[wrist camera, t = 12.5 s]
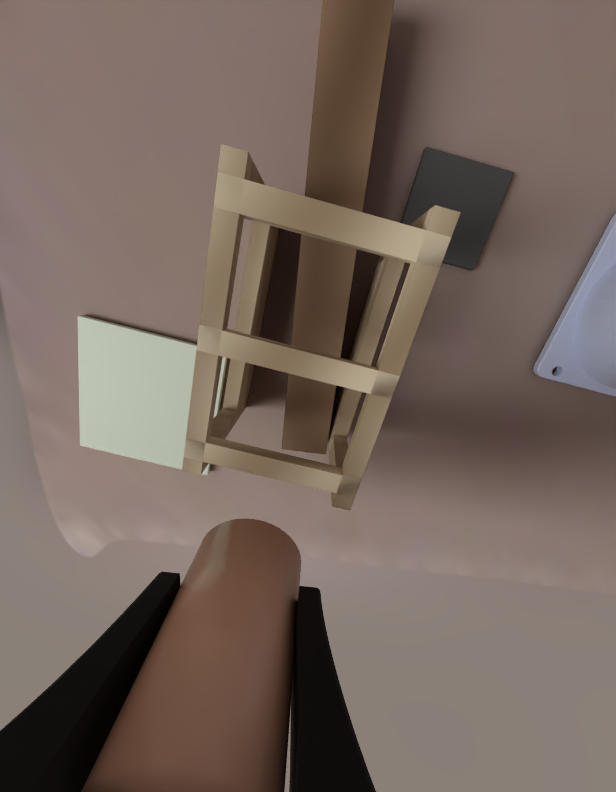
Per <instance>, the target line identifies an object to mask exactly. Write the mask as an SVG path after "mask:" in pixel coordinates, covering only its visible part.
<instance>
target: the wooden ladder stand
mask: <svg viewBox="0 0 616 792" xmlns="http://www.w3.org/2000/svg"><path fill="white" fill-rule="evenodd" d="M460 213H461V212H458V211H454V210H451V209H447V208H444V207H440V206H437V205H435V206H434V207H432V208H431V209H430V210H428V211H427V212H426V213H425V214H423V215H422V216H421V217H419V218H418V219H417V220H416V221H414V222H413V223H412V224H411V225H406V224H402V223H398V222H395V221H391V220H388V219H384V218H381V217H377V216H374V215H370V214H366V213H363V212H359V211H356V210H352V209H349V208H345V207H341V206H338V205H334V204H331V203H327V202H324V201H320V200H316V199H313V198H309V197H306V196H302V195H299V194H295V193H291V192H288V191H284V190H281V189H277V188H274V187H270V186H266V185H265V184H264V182H263V180H262V178H261V176H260V174H259V172H258V170H257V168H256V166H255V164H254V162H253V160H252V158H251V156H250V154H249V152H247V151H243V150H240V149H236V148H233V147H229V146H226V145H222V144H221V150H220V159H219V167H218V175H217V183H216V192H215V200H214V208H213V217H212V225H211V233H210V242H209V250H208V258H207V266H206V275H205V283H204V291H203V300H202V308H201V316H200V325H199V333H198V341H197V349H196V358H195V366H194V374H193V383H192V391H191V399H190V408H189V416H188V424H187V432H186V441H185V449H184V457H183V466H182V471H184V472H188V473H192V474H197V475H201V474H202V473H203V471H204V470H205V468H206V467H207V465H208V464H209V463H210V464H214V465H218V466H223V467H227V468H231V469H235V470H240V471H244V472H248V473H252V474H256V475H261V476H265V477H269V478H273V479H278V480H282V481H286V482H290V483H294V484H299V485H303V486H307V487H311V488H316V489H320V490H324V491H328V492H331V497H332V506H333V507H337V508H342V509H346V510H350V509H351V506H352V504H353V501H354V498H355V496H356V493H357V490H358V487H359V485H360V482H361V479H362V477H363V474H364V471H365V469H366V466H367V463H368V461H369V458H370V455H371V452H372V450H373V447H374V444H375V442H376V439H377V436H378V434H379V431H380V428H381V426H382V423H383V420H384V417H385V415H386V412H387V409H388V407H389V404H390V401H391V399H392V396H393V393H394V390H395V388H396V385H397V382H398V380H399V377H400V374H401V372H402V369H403V366H404V364H405V361H406V358H407V355H408V353H409V350H410V347H411V345H412V342H413V339H414V337H415V334H416V331H417V329H418V326H419V323H420V320H421V318H422V315H423V312H424V310H425V307H426V304H427V302H428V299H429V296H430V294H431V291H432V288H433V285H434V283H435V280H436V277H437V275H438V272H439V269H440V267H441V264H442V261H443V259H444V256H445V253H446V250H447V248H448V245H449V242H450V240H451V237H452V234H453V232H454V229H455V226H456V224H457V221H458V218H459V215H460ZM244 218H245V219H249V220H252V221H253V223H252V229H251V236H250V242H249V248H248V254H247V260H246V266H245V273H244V279H243V285H242V291H241V297H240V303H239V310H238V316H237V322H236V328H235V331H234V330H230V329H227V325H228V319H229V312H230V305H231V299H232V292H233V286H234V279H235V273H236V266H237V260H238V253H239V247H240V240H241V233H242V227H243V220H244ZM280 228H281V229H285V230H289V231H292V232H296V233H300V234H303V235H307V236H311V237H314V238H318V239H321V240H325V241H329V242H332V243H336V244H340V245H343V246H347V247H351V248H354V249H358V250H362V251H365V252H369V253H372V254H376V255H380V257H379V260H378V264H377V267H376V270H375V274H374V277H373V280H372V284H371V287H370V290H369V293H368V297H367V300H366V303H365V307H364V310H363V313H362V317H361V320H360V323H359V326H358V330H357V333H356V336H355V340H354V343H353V346H352V350H351V353H350V356H349V359H348V360H347V359H343V358H339V357H335V356H331V355H327V354H323V353H319V352H316V351H312V350H308V349H304V348H300V347H296V346H292V345H288V344H284V343H281V342H277V341H273V340H269V339H265V338H261V337H259V336H260V331H261V325H262V320H263V315H264V310H265V304H266V299H267V294H268V289H269V284H270V278H271V273H272V268H273V263H274V257H275V252H276V247H277V242H278V237H279V231H280ZM405 263H409V264H410V267H409V270H408V273H407V276H406V279H405V282H404V285H403V288H402V290H401V293H400V296H399V299H398V302H397V305H396V308H395V311H394V314H393V317H392V320H391V323H390V326H389V329H388V332H387V335H386V338H385V341H384V344H383V347H382V350H381V353H380V356H379V358H378V361H377V364H376V367H374V366H371V363H372V360H373V357H374V354H375V351H376V348H377V345H378V342H379V339H380V336H381V333H382V330H383V327H384V324H385V321H386V318H387V315H388V312H389V309H390V306H391V303H392V300H393V297H394V294H395V291H396V288H397V285H398V282H399V279H400V276H401V273H402V270H403V267H404V264H405ZM223 357H226V358H230V365H229V371H228V377H227V384H226V390H225V396H224V402H223V408H222V409H221V410H220V412H219V413H218V414H217V415H216V416H215V417H214V410H215V404H216V397H217V391H218V384H219V378H220V371H221V364H222V358H223ZM254 365H258V366H262V367H266V368H270V369H273V370H277V371H281V372H285V373H289V374H293V375H297V376H301V377H305V378H309V379H313V380H317V381H321V382H325V383H329V384H333V385H337V386H340V389H339V393H338V396H337V399H336V402H335V406H334V409H333V412H332V417H331V423H330V430H329V437H328V441H329V460H330V465H328V464H324V463H320V462H316V461H312V460H307V459H303V458H299V457H295V456H291V455H287V454H283V453H278V452H274V451H270V450H266V449H262V448H258V447H253V446H249V445H245V444H241V443H237V442H233V441H229V440H225V438H226V437H227V435H228V434H229V432H230V431H231V429H232V427H233V426H234V424H235V423H236V421H237V420H238V418H239V417H240V415H241V414H242V412H243V411H244V409H245V408H246V404H247V398H248V393H249V388H250V383H251V378H252V372H253V367H254ZM362 392H364V393H367V394H366V397H365V400H364V403H363V406H362V409H361V412H360V415H359V418H358V421H357V424H356V427H355V429H354V432H353V435H352V438H351V441H350V444H349V447H348V444H347V436H348V433H349V429H350V426H351V423H352V420H353V417H354V414H355V411H356V408H357V405H358V402H359V399H360V396H361V393H362ZM213 417H214V419H213Z"/></svg>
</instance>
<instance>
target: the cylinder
mask: <svg viewBox="0 0 616 792" xmlns="http://www.w3.org/2000/svg"><path fill="white" fill-rule="evenodd" d="M300 571H301V556H300V553H299V550H298V548H297V546H296V544H295V543H294V541H293V540H292V539H291V538H290V536H289V535H287V534H286V533H285V532H284V531H282V530H281V529H280V528H278V527H276V526H274V525H272V524H269V523H267V522H264V521H260V520H255V519H235V520H230V521H226V522H224V523H221V524H219V525H217V526H216V527H214V528H213V529H212V530H210V531H209V532H208V533H207V534H206V536H205V537H204V539H203V541H202V543H201V545H200V547H199V549H198V551H197V553H196V556H195V557H194V559H193V562H192V564H191V566H190V568H189V570H188V572H187V574H186V576H185V578H184V580H183V582H182V584H181V586H180V588H179V590H178V593H177V595H176V597H175V599H174V601H173V603H172V605H171V607H170V609H169V611H168V613H167V615H166V617H165V619H164V621H163V624H162V626H161V628H160V630H159V632H158V634H157V636H156V638H155V640H154V642H153V644H152V646H151V648H150V650H149V653H148V655H147V657H146V659H145V661H144V663H143V665H142V667H141V669H140V671H139V673H138V675H137V677H136V679H135V681H134V684H133V686H132V688H131V690H130V692H129V694H128V696H127V698H126V700H125V702H124V704H123V706H122V708H121V710H120V712H119V715H118V717H117V719H116V721H115V723H114V725H113V727H112V729H111V731H110V733H109V735H108V737H107V739H106V741H105V743H104V746H103V748H102V750H101V752H100V754H99V756H98V758H97V760H96V762H95V764H94V766H93V768H92V770H91V772H90V774H89V777H88V779H87V781H86V783H85V785H84V787H83V789H82V791H81V792H284V788H285V773H286V761H287V760H286V759H287V747H288V733H289V719H290V706H291V693H292V679H293V666H294V651H295V629H296V616H297V603H298V593H299V584H300Z"/></svg>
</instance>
